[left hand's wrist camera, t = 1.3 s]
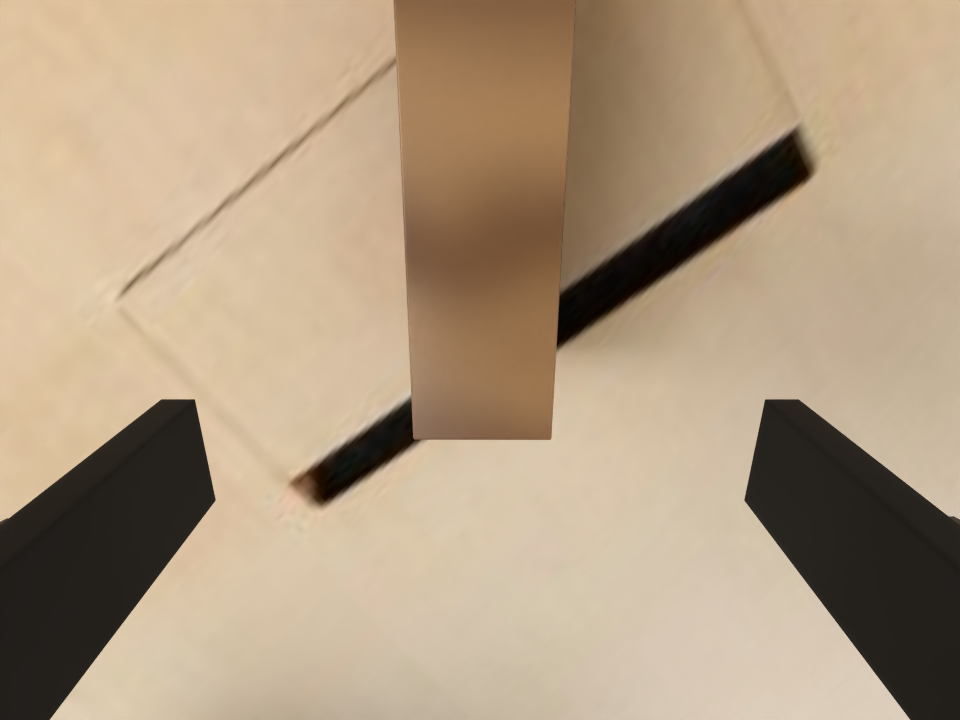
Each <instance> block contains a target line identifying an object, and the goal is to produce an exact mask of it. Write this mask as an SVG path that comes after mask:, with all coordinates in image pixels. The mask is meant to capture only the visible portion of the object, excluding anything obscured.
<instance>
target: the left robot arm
mask: <svg viewBox="0 0 960 720" xmlns="http://www.w3.org/2000/svg"><path fill="white" fill-rule="evenodd" d="M214 502H215V495H214V490H213V485H212V481H211V476H210V471H209V466H208V461H207V456H206V452H205V447H204V442H203V437H202V432H201V427H200V422H199V418H198V413H197V408H196V403H195V400H160V401H159V402H158V403H156V404H155V405H154V406H153V407H151V408H150V409H149V410H147V411H146V412H145V413H144V414H142V415H141V416H140V417H138V418H137V419H136V420H135V421H133V422H132V423H131V424H129V425H128V426H127V427H126V428H124V429H123V430H122V431H120V432H119V433H118V434H117V435H115V436H114V437H113V438H112V439H110V440H109V441H108V442H106V443H105V444H104V445H103V446H101V447H100V448H99V449H97V450H96V451H95V452H94V453H92V454H91V455H90V456H88V457H87V458H86V459H85V460H83V461H82V462H81V463H79V464H78V465H77V466H76V467H74V468H73V469H72V470H71V471H69V472H68V473H67V474H65V475H64V476H63V477H62V478H60V479H59V480H58V481H56V482H55V483H54V484H53V485H51V486H50V487H49V488H47V489H46V490H45V491H44V492H42V493H41V494H40V495H38V496H37V497H36V498H35V499H33V500H32V501H31V502H30V503H28V504H27V505H26V506H24V507H23V508H22V509H21V510H19V511H18V512H17V513H15V514H14V515H13V516H12V517H10V518H7V519H5V520H3V521H1V522H0V720H50V719H51V717H52V716H53V715H54V713H55V712H56V711H57V709H58V708H59V707H60V705H61V704H62V703H63V701H64V700H65V699H66V697H67V696H68V695H69V693H70V692H71V691H72V689H73V688H74V687H75V685H76V684H77V683H78V682H79V680H80V679H81V678H82V676H83V675H84V674H85V672H86V671H87V670H88V668H89V667H90V666H91V664H92V663H93V662H94V660H95V659H96V658H97V656H98V655H99V654H100V652H101V651H102V650H103V648H104V647H105V646H106V645H107V643H108V642H109V641H110V639H111V638H112V637H113V635H114V634H115V633H116V631H117V630H118V629H119V627H120V626H121V625H122V623H123V622H124V621H125V619H126V618H127V617H128V615H129V614H130V613H131V611H132V610H133V609H134V607H135V606H136V605H137V604H138V602H139V601H140V600H141V598H142V597H143V596H144V594H145V593H146V592H147V590H148V589H149V588H150V586H151V585H152V584H153V582H154V581H155V580H156V578H157V577H158V576H159V574H160V573H161V572H162V570H163V569H164V568H165V567H166V565H167V564H168V563H169V561H170V560H171V559H172V557H173V556H174V555H175V553H176V552H177V551H178V549H179V548H180V547H181V545H182V544H183V543H184V541H185V540H186V539H187V537H188V536H189V535H190V533H191V532H192V531H193V530H194V528H195V527H196V526H197V524H198V523H199V522H200V520H201V519H202V518H203V516H204V515H205V514H206V512H207V511H208V510H209V508H210V507H211V506H212V504H213V503H214ZM745 502H746V503H747V504H748V506H749V507H750V508H751V510H752V511H753V512H754V514H755V515H756V516H757V518H758V519H759V520H760V522H761V523H762V524H763V526H764V527H765V528H766V530H767V531H768V532H769V533H770V535H771V536H772V537H773V539H774V540H775V541H776V543H777V544H778V545H779V547H780V548H781V549H782V551H783V552H784V553H785V555H786V556H787V557H788V559H789V560H790V561H791V563H792V564H793V565H794V567H795V568H796V569H797V570H798V572H799V573H800V574H801V576H802V577H803V578H804V580H805V581H806V582H807V584H808V585H809V586H810V588H811V589H812V590H813V592H814V593H815V594H816V596H817V597H818V598H819V600H820V601H821V602H822V604H823V605H824V606H825V607H826V609H827V610H828V611H829V613H830V614H831V615H832V617H833V618H834V619H835V621H836V622H837V623H838V625H839V626H840V627H841V629H842V630H843V631H844V633H845V634H846V635H847V637H848V638H849V639H850V641H851V642H852V643H853V645H854V646H855V647H856V648H857V650H858V651H859V652H860V654H861V655H862V656H863V658H864V659H865V660H866V662H867V663H868V664H869V666H870V667H871V668H872V670H873V671H874V672H875V674H876V675H877V676H878V678H879V679H880V680H881V682H882V683H883V684H884V685H885V687H886V688H887V689H888V691H889V692H890V693H891V695H892V696H893V697H894V699H895V700H896V701H897V703H898V704H899V705H900V707H901V708H902V709H903V711H904V712H905V713H906V715H907V716H908V717H909V719H910V720H960V519H958V518H956V517H948V516H947V515H946V514H945V513H943V512H942V511H941V510H939V509H938V508H937V507H936V506H934V505H933V504H932V503H930V502H929V501H928V500H927V499H925V498H924V497H923V496H922V495H920V494H919V493H918V492H916V491H915V490H914V489H913V488H911V487H910V486H909V485H907V484H906V483H905V482H904V481H902V480H901V479H900V478H898V477H897V476H896V475H895V474H893V473H892V472H891V471H889V470H888V469H887V468H886V467H884V466H883V465H882V464H881V463H879V462H878V461H877V460H875V459H874V458H873V457H872V456H870V455H869V454H868V453H866V452H865V451H864V450H863V449H861V448H860V447H859V446H857V445H856V444H855V443H854V442H852V441H851V440H850V439H848V438H847V437H846V436H845V435H843V434H842V433H841V432H840V431H838V430H837V429H836V428H834V427H833V426H832V425H831V424H829V423H828V422H827V421H825V420H824V419H823V418H822V417H820V416H819V415H818V414H816V413H815V412H814V411H813V410H811V409H810V408H809V407H807V406H806V405H805V404H804V403H802V402H801V401H800V400H765V403H764V408H763V413H762V418H761V422H760V427H759V432H758V437H757V442H756V447H755V452H754V456H753V461H752V466H751V471H750V476H749V481H748V485H747V490H746V495H745Z"/></svg>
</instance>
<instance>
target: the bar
mask: <svg viewBox="0 0 960 720" xmlns="http://www.w3.org/2000/svg"><path fill="white" fill-rule="evenodd" d="M575 9H576V0H394V17H395V39H396V61H397V83H398V106H399V128H400V150H401V172H402V195H403V217H404V239H405V262H406V284H407V306H408V328H409V351H410V373H411V395H412V417H413V438H414V439H445V440H550V439H551V433H552V416H553V398H554V380H555V363H556V345H557V327H558V309H559V292H560V274H561V256H562V239H563V221H564V203H565V186H566V168H567V150H568V133H569V115H570V97H571V80H572V62H573V44H574V27H575Z"/></svg>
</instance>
